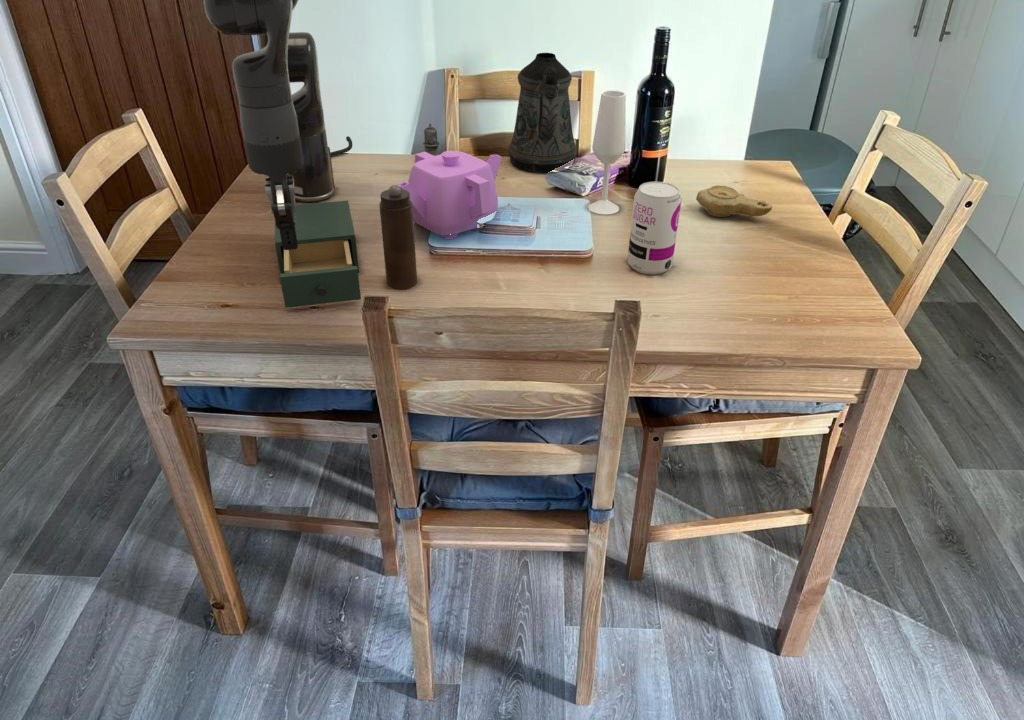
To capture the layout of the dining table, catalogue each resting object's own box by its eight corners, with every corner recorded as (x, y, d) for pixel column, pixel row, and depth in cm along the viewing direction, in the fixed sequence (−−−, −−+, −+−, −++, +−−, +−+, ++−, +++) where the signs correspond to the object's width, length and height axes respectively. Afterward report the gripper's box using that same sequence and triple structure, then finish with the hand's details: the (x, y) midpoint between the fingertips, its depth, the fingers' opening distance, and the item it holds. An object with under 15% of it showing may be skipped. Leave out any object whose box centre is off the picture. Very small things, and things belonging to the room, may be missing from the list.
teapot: (400, 244, 148) (394, 169, 139) (411, 206, 163) (407, 136, 154) (499, 246, 148) (499, 171, 139) (501, 208, 162) (501, 138, 154)
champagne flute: (584, 211, 161) (592, 96, 148) (592, 199, 167) (601, 87, 153) (615, 216, 159) (626, 100, 146) (622, 204, 165) (634, 91, 151)
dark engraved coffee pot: (550, 146, 195) (555, 42, 180) (596, 170, 181) (605, 60, 167) (495, 157, 187) (495, 50, 173) (539, 183, 174) (543, 70, 160)
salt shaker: (441, 180, 175) (439, 128, 168) (416, 178, 176) (413, 126, 169) (448, 171, 180) (446, 120, 173) (424, 169, 180) (421, 118, 174)
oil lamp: (770, 225, 157) (775, 202, 154) (701, 224, 157) (705, 202, 154) (756, 204, 165) (761, 182, 163) (691, 204, 165) (694, 182, 162)
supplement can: (674, 259, 144) (685, 183, 135) (667, 279, 137) (678, 201, 129) (632, 252, 146) (640, 177, 137) (623, 271, 139) (631, 194, 131)
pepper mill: (395, 273, 138) (386, 177, 128) (422, 277, 137) (416, 181, 126) (381, 286, 134) (371, 189, 123) (409, 292, 132) (402, 193, 122)
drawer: (361, 303, 127) (358, 272, 124) (285, 311, 125) (279, 280, 121) (353, 260, 140) (350, 231, 136) (284, 267, 137) (279, 238, 134)
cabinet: (359, 273, 138) (354, 234, 133) (282, 281, 135) (274, 242, 131) (352, 236, 150) (348, 200, 146) (281, 243, 147) (274, 206, 143)
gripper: (300, 147, 101) (317, 264, 111) (297, 118, 111) (314, 227, 121) (241, 152, 99) (264, 270, 109) (244, 121, 110) (265, 231, 120)
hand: (290, 247), depth 115 cm, fingers closed
